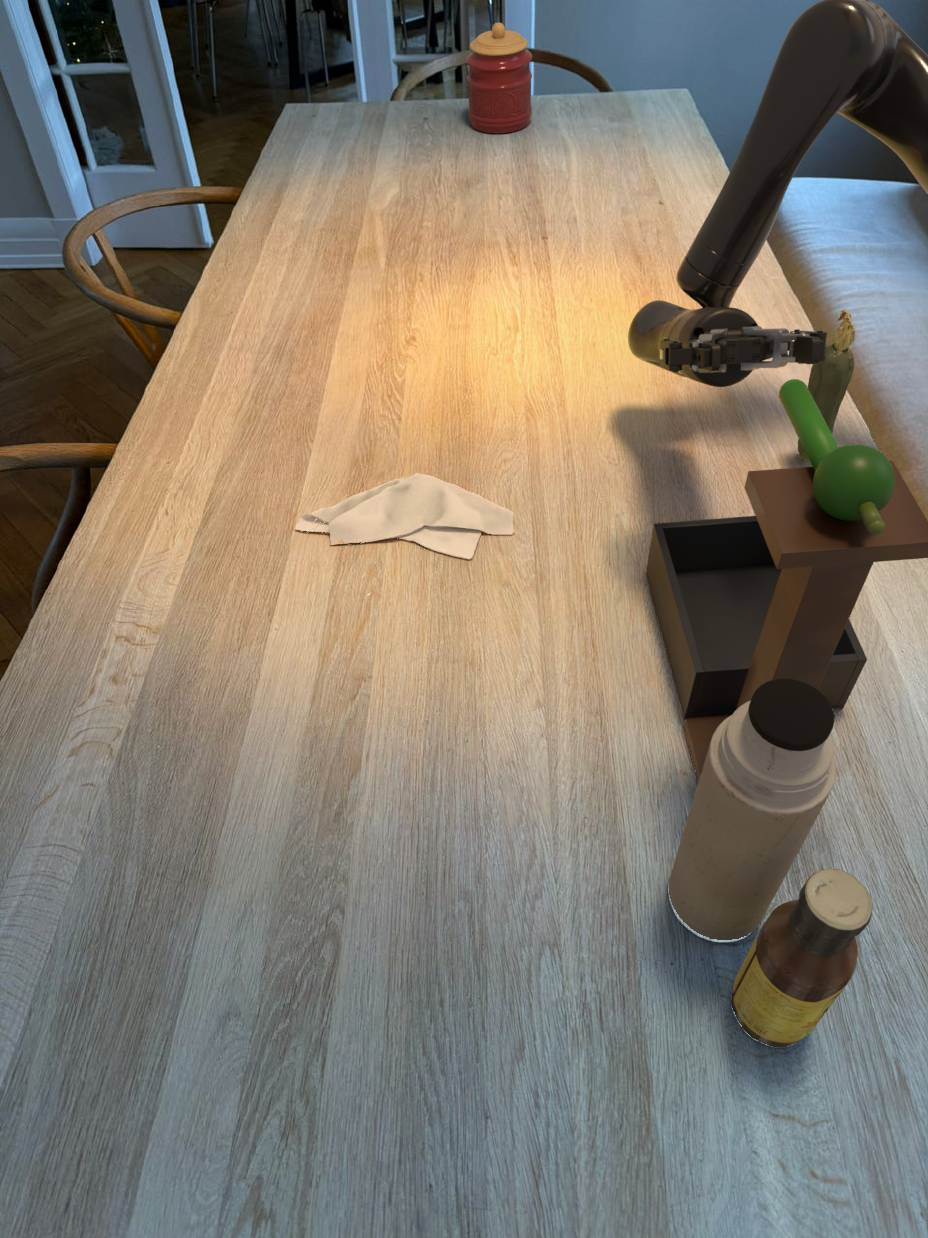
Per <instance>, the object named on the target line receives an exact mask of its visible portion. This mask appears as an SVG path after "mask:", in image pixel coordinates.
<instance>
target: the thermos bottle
mask: <svg viewBox="0 0 928 1238" xmlns="http://www.w3.org/2000/svg"><path fill="white" fill-rule="evenodd" d="M834 725H835V712H834V709H833V708H832V706H831V704H830V702H829V701H828V700H827V698H826V697H825V696H824V695H823V694H822V693H821V692H820V691H819V690H817V689H816V688H814V687H813V686H811V685H809V684H807V683H805V682H802V681H798V680H794V679H775V680H771V681H768V682H766V683H764V684H762V685H761V686H760V687H759V688H757V689H756V691H755V692H754V694H753V695H752V698H751V701H748V702H746V703H745V704H743V705H741V706H740V707H739V708H738V709H737V710H736V711H735V712H734V713H733V715H731V716H729V717H728V718H726V719H725V720H724V721H723V722H722V723H721V724H720V725H719V726H718V728H717V729H716V731H715V732H714V734H713V736H712V739H711V742H710V746H709V749H708V752H707V756H706V759H705V763H704V766H703V770H702V773H701V776H700V779H699V782H698V781H697V786H696V788H695V792H694V796H693V798H692V802H691V806H690V809H689V813H688V816H687V818H686V822H685V826H684V829H683V832H682V834H681V835H682V836H681V838H680V842H679V846H678V849H677V851H676V855H675V858H674V862H673V865H672V869H671V872H670V875H669V878H668V882H669V895H670V899H671V902H672V905H673V907H674V909H675V910H676V912H677V914H678V915H679V917H680V918H681V919H682V920H683V922H685V923H686V924H687V925H688V926H689V927H690V928H691V929H693V930H694V931H696V932H697V933H699V934H701V935H703V936H706V937H709V938H710V939H717V940H732V939H739V938H741V937H744V936H747V935H748V934H749V933H751V932H753V931H754V930H755V929H756V928H757V927H758V928H759V926H760V924H761V923H762V921H763V919H764V918H765V915H766V913H767V912H768V909H769V908H770V905H772V902H773V900H774V898H775V896H776V895H777V893H778V891H779V889H780V887H781V885H782V883H783V881H784V879H786V876H787V874H788V872H789V870H790V868H791V867H792V865H793V863H794V861H795V860H796V857H797V856H798V853H799V852H800V850H801V848H802V847H803V845H804V843H805V842H806V839H807V837H808V835H809V833H810V832H811V829H812V828H813V826H814V824H815V822H816V820H817V818H818V816H819V815H820V813H821V811H822V809H823V807H824V805H825V803H827V802H826V801H827V800H828V798H829V796H830V794H831V792H832V791H833V789H834V787H835V783H836V779H837V762H836V759H835V758H836V757H835V742H834V738H833V735H832V731H833V729H834ZM758 925H759V926H758ZM758 928H757V929H758ZM757 929H756V930H757ZM756 930H755V931H756ZM755 931H754V932H755ZM754 932H753V933H754Z"/></svg>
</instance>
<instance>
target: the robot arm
mask: <svg viewBox="0 0 928 1238" xmlns="http://www.w3.org/2000/svg"><path fill="white" fill-rule="evenodd" d="M835 115H840V116H842V117H843V118H845V119H847V120H849V121H851V122H852V123H853V124H856V125H857V126H858V127H860V128H862V129H863V130H865V131H866V132H868V133H869V134H871V135H872V136H873V137H875V138H877V139H878V140H879V141H881V143H884V145H886V146H887V147H888V148H890V149H891V150H892V152H894V153H895V154H896V155H897V156H898V157H899V159H900V160H901V161H902V162H903V163H904V164H905V166H906V167H907V169H908V170H909V171H910V173H911V174H912V175H913V177H914V178H915V180H916V181H917V182H918V184H919V185H920V186H921V188H922V190H923V191H924V192H925V193H926V194H927V195H928V54H927V52H926V51H924V50H923V49H922V48H921V46H919V45H918V44H917V42H915V41H914V39H913V38H912V37H910V36H909V35H908V33H906V31H905V30H904V29H903V28H902V27H901V26H900V25H899V24H898V23H897V22H896V20H894V19H893V17H892V16H891V15H890V14H889V13H888V12H887V11H886V10H885V9H884V8H883V7H881V6H880V5H878V4H877V3H875V2H873V1H870V0H820V1H818V2H817V1H816V3H814V4H812V5H810V6H809V7H807V8H806V9H805V10H804V11H803V12H802V13H800V15H798V17H797V18H796V19H795V21H794V22H793V23H792V24H791V26H790V27H789V29H788V31H787V33H786V35H785V37H784V39H783V40H782V43H781V46H780V49H779V51H778V54H777V57H776V59H775V61H774V65H773V67H772V69H771V72H770V75H769V77H768V80H767V83H766V86H765V89H764V91H763V94H762V96H761V99H760V102H759V105H758V106H757V110H756V112H755V115H754V117H753V120H752V123H751V124H750V127H749V129H748V132H747V134H746V136H745V139H744V141H743V143H742V145H741V148H740V149H739V153H738V154H737V157H736V159H735V161H734V163H733V165H732V167H731V169H730V171H729V173H728V176H727V178H726V180H725V182H724V184H723V186H722V188H721V190H720V192H719V193H718V195H717V197H716V199H715V201H714V203H713V205H712V206H711V209H710V210H709V212H708V214H707V216H706V218H705V219H704V221H703V223H702V225H701V226H700V228H699V230H698V232H697V233H696V235H695V238H694V239H693V241H692V243H691V245H690V247H689V248H688V250H687V252H686V254H685V256H684V258H683V259H682V261H681V262H680V265H679V268H678V269H677V272H676V277H675V278H676V283H677V285H678V288H680V289H681V290H682V292H683V293H684V294H686V296H688V297H689V298H690V299H692V300H693V301H694V302H696V303H697V304H698V305H699V306H700V307H701V308H700V307H699V308H696V309H695V308H694V309H692V308H691V309H689V308H686V307H683V306H680V305H677V304H675V303H672V302H669V301H666V300H662V299H657V300H653V301H652V300H651V301H650V302H648V303H647V304H644V305H643V306H642V307H641V308H639V310H638V311H637V312H636V314H635V315H634V317H633V318H632V320H631V322H630V325H629V328H628V333H627V344H628V347H629V350H630V352H631V354H632V355H633V356H634V357H635V358H637V359H638V360H640V361H643V362H646V363H647V364H651V365H653V366H655V367H658V368H660V369H661V370H664V371H667V372H670V373H672V374H674V375H676V376H680V377H682V378H685V379H686V378H687V379H689V380H691V381H694V382H697V383H700V384H703V385H705V386H710V387H714V388H727V387H731V386H734V385H736V384H739V383H740V382H742V381H744V380H745V379H746V378H747V377H748V376H750V375H751V373H752V372H753V371H755V370H759V369H779V368H785V367H786V366H787V365H788V363H790V364H792V363H794V364H795V363H796V364H798V365H803V364H804V365H813V364H818V363H819V362H821V361H822V360H825V355H824V354H825V348H826V346H827V338H828V332H827V331H824V330H817V331H814V330H813V331H812V330H800V329H798V328H796V329H794V330H791V331H789V329H787V328H762V327H761V326H760V325H758V323H757V321H756V320H755V318H754V317H753V316H752V315H750V314H749V313H748V312H746V311H744V310H742V309H739V308H736V307H730V306H731V304H732V301H733V299H734V297H735V295H736V293H737V291H738V289H739V288H740V286H741V285H742V283H743V281H744V280H745V278H746V276H747V275H748V274H749V271H750V270H751V268H752V266H753V264H754V263H755V262H756V260H757V258H758V256H759V254H760V253H761V251H762V249H763V247H764V245H765V243H766V242H767V240H768V237H769V235H770V234H771V230H772V229H773V227H774V224H775V222H776V219H777V217H778V214H779V211H780V209H781V206H782V203H783V201H784V198H785V195H786V193H787V190H788V189H789V186H790V184H791V182H792V180H793V178H794V176H795V174H796V172H797V170H798V168H800V167H799V166H800V165H801V163H802V162H803V161H804V158H805V156H806V155H807V153H808V152H809V150H810V149H811V147H812V146H813V144H814V143H815V141H816V140H817V139H818V137H819V136H820V135H821V134H822V132H823V131H824V130H825V128H826V127H827V125H828V124H829V123H830V122H831V120H832V119H833V118H834V117H835ZM770 359H771V360H770Z"/></svg>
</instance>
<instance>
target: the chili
mask: <svg viewBox="0 0 928 1238" xmlns="http://www.w3.org/2000/svg"><path fill="white" fill-rule="evenodd" d="M778 396H779V397H778V398H779V401H780V402H781V404H782V406H783V409H784V411H785V413H786V415H787V418H788V419H789V421H790V424H791V425H792V427H793V430H794V431H795V433H796V436H797V437H798V439H799V440H800V442H801V444H802V446H803V448H804V450H805V452H806V454H807V456H808V458H809V460H808V461H809V462H810V464H811V467H812V466H813V469H814V471H815V474H814V478H813V492H814V496H815V498H816V501H817V502H818V504H819V506H820V507H821V508H822V509H823V510H824V511H825V512H826V513H828V514H829V515H831V516H833V517H835V518H837V519H841V520H846V521H857V520H863V522H864V524H865V526H866V528H867V530H868V531H869V532H870V533H871V534H874V535H878V534H880V533H882V532H883V531H884V529H885V523H884V521H883V519H882V517H881V516H880V514H879V511H880V510H882V509H883V508H884V507H885V506H886V504H887V503H888V502H889V500H890V498H891V497H892V494H893V491H894V488H895V473H894V469H893V467H892V465H891V463H890V461H891V460H889V458H888V457H887V456H886V455H885V454H884V453H883V452H881V451H879V449H876V448H875V447H872V446H870V445H865V444H849V445H843V446H841V447H840V446H839V445H838V442H837V440H836V439H835V437H834V434H833V432H832V433H831V431H830V429H829V427H828V426H827V424H826V422H825V420H824V418H823V416H822V414H821V412H820V410H819V408H818V407H817V405H816V403H815V401H814V399H813V397H812V395H811V393H810V391H809V389H808V385H807V384H806V383H805V382H804V381H803V380H801V379H798V378H791V379H789V380H787V381H784V383H783V384H782V385H781V386H780V388H779V392H778Z"/></svg>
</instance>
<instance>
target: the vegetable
mask: <svg viewBox="0 0 928 1238" xmlns="http://www.w3.org/2000/svg"><path fill="white" fill-rule="evenodd" d="M840 312H841V313H840V315H839V317H838V318H837V321H838V322H840V321H841V322H840V324H839V325H838V328H837V330H836V333H835V334H834V336H833V339H832V343H830V344H828V345H826V348H825V354H824V355H825V360H822V361H821V362H819V363H818V364H811V365H812V366H811V368H810V373H809V378H808V383H807V387H808V389H809V391H810V393H811V395H812V397H813V399H814V401H815V403H816V405H817V407H818V408H819V410H820V412H821V414H822V416H823V418H824V420H825V422H826V424H827V426H828V427H829V429H830V431H831V433H832V434H833V432H834V429H835V423H836V420H837V418H838V417H837V416H838V413H839V410H840V408H841V406H842V402H843V401H844V398H845V395H846V394H847V390H848V387H849V385H850V382H851V380H852V378H853V373H854V369H855V357H854V354H853V351H852V350H851V349H850V348H849V347H850V346H851V345H852V344H853V343H854V341H855V338H856V330H855V328H854V326H855V325H854V323H853V322H852V315H851V313H850V312H849V311H847V310H845V309H842V310H840ZM797 452H798V456H800V457H801V458H802V459H803V461H810V460H809V458H808V456H807V454H806V452H805V450H804V448H803V446H802V444H801V442H800V440H799V438H798V440H797Z"/></svg>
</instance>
